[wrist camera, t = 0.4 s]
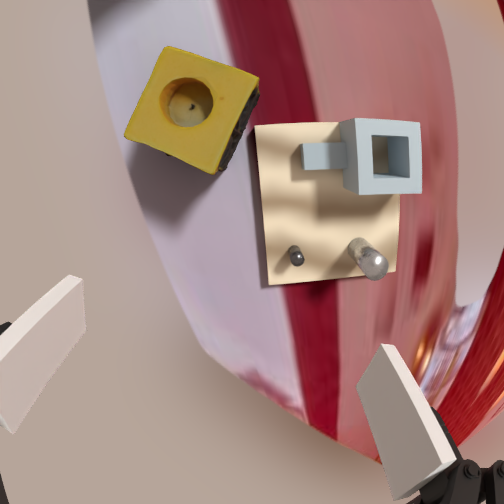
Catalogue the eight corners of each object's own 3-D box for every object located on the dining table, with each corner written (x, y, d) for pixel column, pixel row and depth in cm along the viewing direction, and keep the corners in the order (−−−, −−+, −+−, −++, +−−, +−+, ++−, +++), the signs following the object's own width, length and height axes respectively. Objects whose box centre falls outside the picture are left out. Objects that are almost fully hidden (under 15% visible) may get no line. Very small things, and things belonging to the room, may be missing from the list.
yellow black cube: (225, 171, 34) (215, 179, 25) (153, 141, 33) (119, 140, 23) (261, 97, 31) (264, 78, 21) (187, 69, 29) (164, 43, 20)
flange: (397, 124, 30) (419, 122, 25) (399, 185, 33) (421, 193, 27) (298, 123, 30) (306, 118, 25) (303, 189, 33) (312, 197, 28)
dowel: (287, 245, 36) (290, 254, 33) (300, 244, 36) (304, 253, 33) (288, 257, 36) (291, 267, 33) (300, 256, 36) (304, 265, 33)
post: (347, 238, 35) (365, 256, 29) (368, 236, 35) (389, 254, 29) (347, 260, 36) (363, 281, 30) (368, 258, 36) (387, 278, 30)
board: (254, 126, 32) (254, 125, 31) (392, 125, 31) (397, 124, 30) (268, 279, 39) (268, 285, 37) (390, 267, 38) (395, 271, 37)
